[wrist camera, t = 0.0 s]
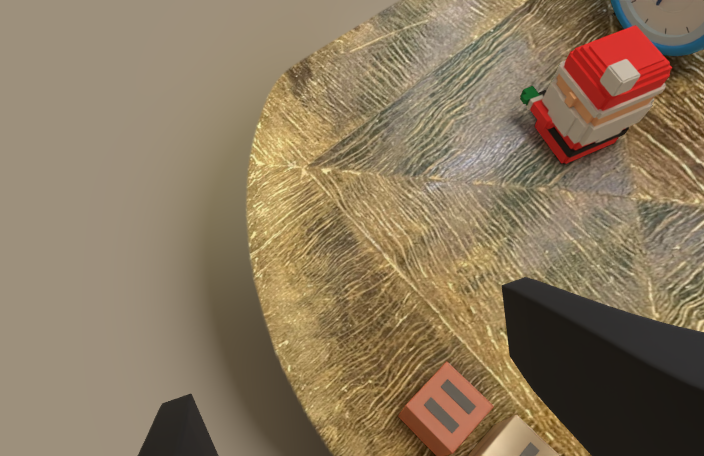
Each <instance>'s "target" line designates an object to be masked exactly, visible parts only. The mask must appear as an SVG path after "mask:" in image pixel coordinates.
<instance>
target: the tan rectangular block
mask: <svg viewBox="0 0 704 456" xmlns="http://www.w3.org/2000/svg"><path fill="white" fill-rule="evenodd" d="M468 456H560V455H559V454H558V453H557V452H556V451H555V450H553V449H552V448H551V447H550V446H549V445H548V444H547V443H546V442H545V441H544V440H543V439H542V438H541V437H540V436H539V435H538V434H537V433H536V432H534V431H533V430H532V429H531V428H530V427H529V426H528V425H527V424H526V423H525V422H524V421H523V420H522V419H521V418H520V417H519V416H518V415H514V416H512V417H510V418H507V419H505V420H503V421H501V422H499V423H496V424H494V425H493V427H492V428H491V429H490V430H489V431H488V432H487V434H486V435H485V436H484V437H483V438H482V439H481V441H480V442H479V443H478V444H477V445H476V446H475V448H474V449H473V450H472V451H471V452H470V453H469V455H468Z"/></svg>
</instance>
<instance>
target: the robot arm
mask: <svg viewBox="0 0 704 456" xmlns="http://www.w3.org/2000/svg"><path fill="white" fill-rule="evenodd" d="M502 293H503V301H504V310H505V319H506V328H507V336H508V345H509V354H510V357H511V359H512V360H513V362H514V363H515V365H516V366H517V368H518V369H519V371H520V372H521V374H522V375H523V377H524V378H525V379H526V381H527V382H528V384H529V385H530V386H531V388H532V389H533V391H534V392H535V393H536V394H537V395H538V396H539V398H540V399H541V400H542V401H543V402H544V403H545V404H546V405H547V407H548V408H549V409H550V410H551V411H552V412H553V413H554V414H555V416H556V417H557V418H558V419H559V420H560V421H561V422H562V423H563V424H564V426H565V427H566V428H567V429H568V430H569V431H570V432H571V433H572V434H573V435H574V437H575V438H576V439H577V440H578V441H579V442H580V443H581V444H582V445H583V446H584V448H585V449H586V450H587V451H588V452H589V453H590V454H591V455H592V456H704V332H700V331H695V330H691V329H686V328H682V327H678V326H674V325H670V324H666V323H662V322H659V321H655V320H652V319H649V318H645V317H642V316H638V315H635V314H632V313H628V312H625V311H622V310H619V309H616V308H613V307H610V306H607V305H604V304H601V303H598V302H595V301H593V300H590V299H587V298H584V297H581V296H579V295H576V294H573V293H570V292H568V291H565V290H562V289H559V288H557V287H554V286H551V285H548V284H546V283H543V282H540V281H537V280H534V279H530V278H527V277H524V278H522V279H519V280H516V281H513V282H510V283H507V284H504V285H502ZM138 456H218V454H217V451H216V449H215V447H214V445H213V442H212V440H211V438H210V435H209V433H208V431H207V429H206V426H205V424H204V422H203V419H202V417H201V415H200V412H199V410H198V408H197V406H196V404H195V401H194V399H193V396H192V394H188V395H186V396H183V397H180V398H177V399H174V400H171V401H168V402H165V403H163V404H162V405H161V407H160V409H159V411H158V413H157V415H156V417H155V419H154V421H153V424H152V426H151V428H150V430H149V433H148V435H147V437H146V439H145V441H144V443H143V446H142V448H141V450H140V452H139V454H138Z"/></svg>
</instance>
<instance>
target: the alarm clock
mask: <svg viewBox="0 0 704 456" xmlns="http://www.w3.org/2000/svg"><path fill="white" fill-rule="evenodd" d="M611 3H612V7H613V9H614V13H613V14H612V16H616V17H617V19H618V20H619V22H620V24H621V25H622V27H623V28H624V29H627V28H629V27H632V26H635V25H636V26H637V27H638V28H639V29H640V30H641V31H642V32H643V33H644V35H645V36H646V37H647V38H648V39H649V40H650V41H651V42H652V43H653V45H654V46H655V47H656V48H657V49H658V50H659V51H660V52H661V53H662V55H663V56H665V55H667V56H683V55H689V54H692V53H695V52H698V51H701V50H703V49H704V0H611Z"/></svg>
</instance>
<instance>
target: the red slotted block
mask: <svg viewBox="0 0 704 456" xmlns="http://www.w3.org/2000/svg"><path fill="white" fill-rule="evenodd" d="M493 407H494V406H493V405H492V404H491V403H490V402H489V401H488V400H487V399H486V398H485V397H484V396H483V395H482V394H481V393H480V392H479V391H477V390H476V389H475V388H474V387H473V386H472V385H471V384H470V383H469V382H468V381H467V380H466V379H465V378H464V377H463V376H462V375H461V374H460V373H459V372H458V371H457V370H456V369H454V368H453V367H452V366H451V365H450V364H449V363H448V362H445V363H444V364H443V366H442V367H441V368H440V369H439V370H438V371H437V372H436V373H435V374H434V375H433V376H432V377H431V378H430V379H429V380H428V382H427V383H426V384H425V385H424V386H423V387H422V388H421V389H420V390H419V391H418V392H417V393H416V394H415V395H414V396H413V398H412V399H411V400H410V401H409V402H408V403H407V404H406V405H405V406H404V408H403V409H402V411H401V412H400V413H399V415H398V417H399V418H400V419H401V420H402V421H403V422H404V423H405V424H406V425H407V426H408V427H409V428H410V429H411V430H412V431H413V432H414V433H415V434H416V436H417V437H418V438H419V439H420V440H421V441H422V442H423V443H424V444H425V445H426V446H427V447H428V448H429V449H430V450H431V451H432V452H433V453H434V454H435V455H436V456H447V455H450V454H453V453H454V452H455V451H456V450H457V448H458V447H459V446H460V445H461V444H462V443H463V442H464V440H465V439H466V438H467V437H468V436H469V435H470V434H471V432H472V431H473V430H474V429H475V428H476V427H477V426H478V424H479V423H480V422H481V421H482V420H483V419H484V417H485V416H486V415H487V414H488V413H489V412H490V411H491V409H492V408H493Z"/></svg>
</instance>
